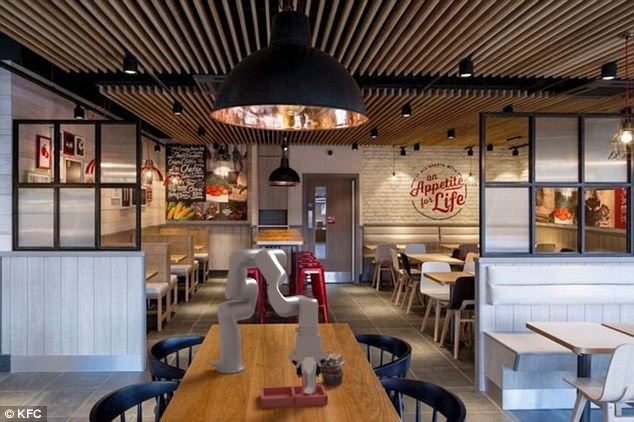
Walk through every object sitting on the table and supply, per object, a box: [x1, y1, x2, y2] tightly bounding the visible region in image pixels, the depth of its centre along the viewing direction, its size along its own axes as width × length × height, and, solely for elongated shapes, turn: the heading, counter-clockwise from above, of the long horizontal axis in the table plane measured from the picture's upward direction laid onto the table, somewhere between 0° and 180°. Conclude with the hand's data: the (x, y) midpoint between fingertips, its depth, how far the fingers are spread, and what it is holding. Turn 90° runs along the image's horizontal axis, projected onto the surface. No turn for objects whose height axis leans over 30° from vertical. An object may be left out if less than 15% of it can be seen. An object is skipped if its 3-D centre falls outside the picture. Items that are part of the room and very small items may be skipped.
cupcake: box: [321, 358, 344, 387], centre depth 223 cm, size 10×10×10 cm
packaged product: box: [321, 352, 347, 367], centre depth 246 cm, size 18×5×10 cm
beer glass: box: [300, 357, 317, 396], centre depth 204 cm, size 7×7×15 cm
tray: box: [260, 384, 329, 409], centre depth 203 cm, size 25×13×3 cm, turn 97°
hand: (308, 375), depth 204 cm, fingers closed on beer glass, 6 cm apart
